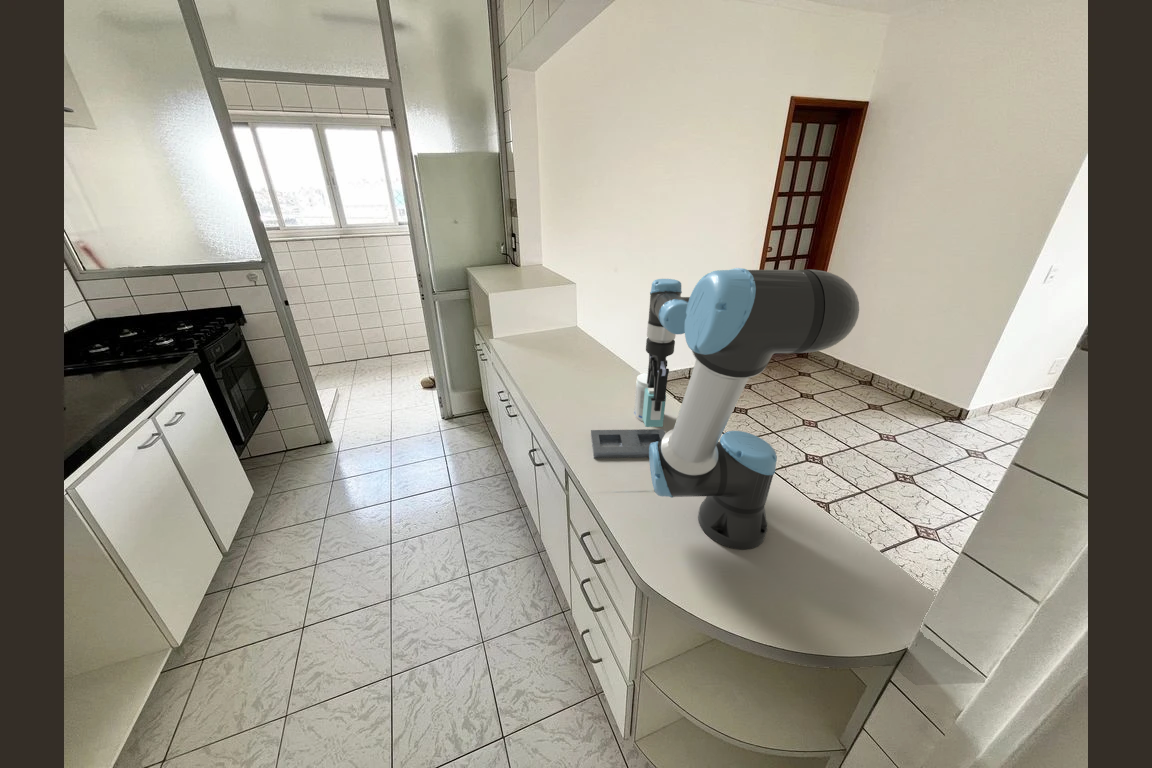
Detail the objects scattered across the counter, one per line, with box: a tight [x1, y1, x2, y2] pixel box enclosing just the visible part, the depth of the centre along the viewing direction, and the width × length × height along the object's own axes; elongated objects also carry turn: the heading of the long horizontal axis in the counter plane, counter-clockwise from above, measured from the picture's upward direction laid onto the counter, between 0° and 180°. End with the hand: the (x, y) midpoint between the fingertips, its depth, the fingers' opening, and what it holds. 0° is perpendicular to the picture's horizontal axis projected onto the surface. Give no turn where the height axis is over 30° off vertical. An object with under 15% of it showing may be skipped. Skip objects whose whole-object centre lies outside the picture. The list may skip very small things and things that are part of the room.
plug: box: [642, 388, 667, 428], centre depth 119 cm, size 5×5×11 cm
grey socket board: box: [590, 428, 666, 459], centre depth 124 cm, size 12×23×2 cm, turn 92°
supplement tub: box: [633, 372, 648, 423], centre depth 138 cm, size 10×10×15 cm
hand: (653, 414), depth 120 cm, fingers closed on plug, 5 cm apart
